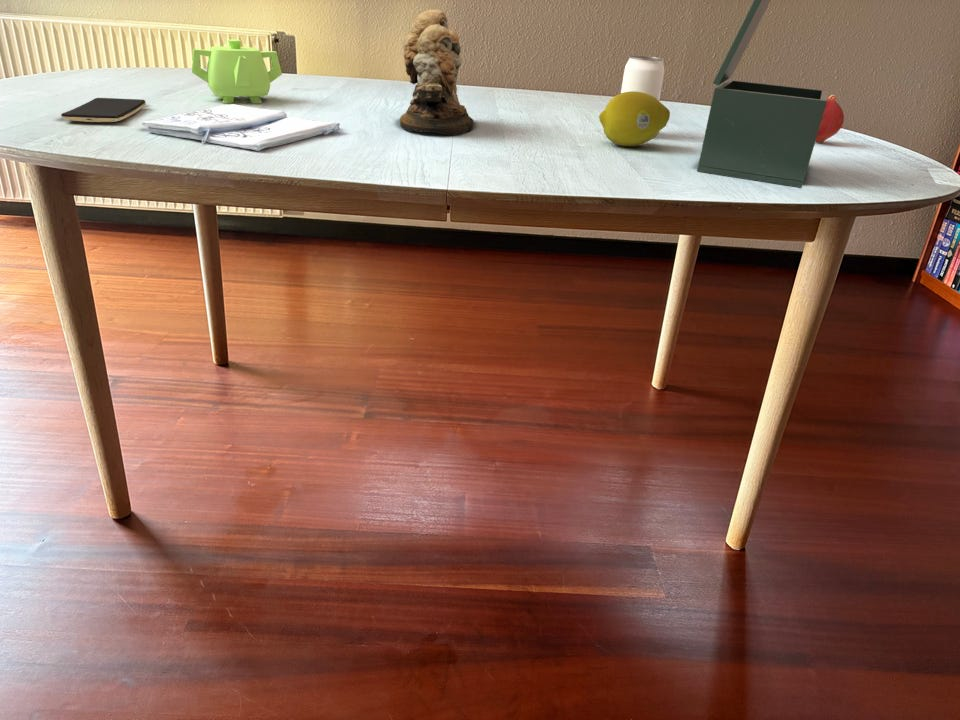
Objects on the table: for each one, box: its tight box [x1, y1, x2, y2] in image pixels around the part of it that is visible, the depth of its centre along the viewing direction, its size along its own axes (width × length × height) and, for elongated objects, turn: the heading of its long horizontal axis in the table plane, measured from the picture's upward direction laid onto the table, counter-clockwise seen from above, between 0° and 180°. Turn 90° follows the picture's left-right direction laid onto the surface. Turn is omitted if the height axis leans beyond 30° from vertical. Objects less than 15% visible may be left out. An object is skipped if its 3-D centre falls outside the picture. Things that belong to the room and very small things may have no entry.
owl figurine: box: [399, 8, 474, 136], centre depth 107 cm, size 18×12×17 cm, turn 178°
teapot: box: [191, 38, 283, 104], centre depth 119 cm, size 12×12×10 cm
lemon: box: [598, 91, 671, 147], centre depth 105 cm, size 11×8×8 cm
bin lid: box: [712, 0, 772, 86], centre depth 91 cm, size 14×14×5 cm
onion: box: [815, 94, 845, 144], centre depth 118 cm, size 6×6×8 cm
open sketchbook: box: [141, 103, 341, 152], centre depth 97 cm, size 19×20×2 cm
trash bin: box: [696, 79, 829, 188], centre depth 95 cm, size 14×14×11 cm
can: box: [620, 55, 665, 102], centre depth 114 cm, size 6×6×12 cm
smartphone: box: [60, 97, 147, 123], centre depth 102 cm, size 7×1×15 cm
